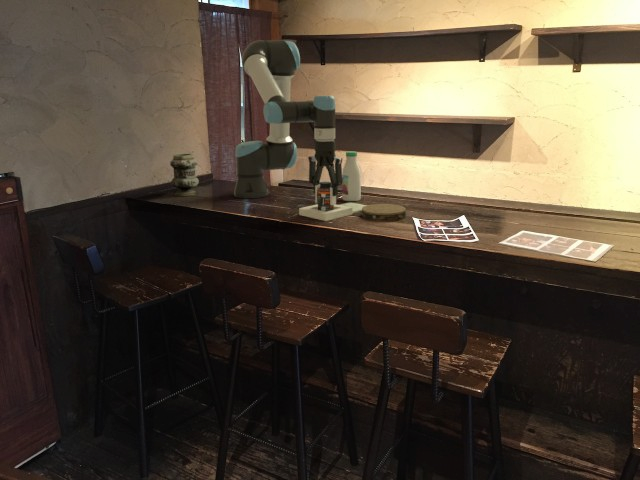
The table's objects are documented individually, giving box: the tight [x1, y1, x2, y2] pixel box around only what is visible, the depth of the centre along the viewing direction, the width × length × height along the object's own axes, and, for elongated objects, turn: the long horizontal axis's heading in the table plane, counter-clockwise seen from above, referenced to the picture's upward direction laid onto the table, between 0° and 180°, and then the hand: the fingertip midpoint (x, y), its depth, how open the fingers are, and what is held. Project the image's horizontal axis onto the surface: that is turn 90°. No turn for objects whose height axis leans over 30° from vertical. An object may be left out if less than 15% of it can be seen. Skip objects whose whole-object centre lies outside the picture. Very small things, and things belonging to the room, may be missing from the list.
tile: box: [340, 201, 367, 214], centre depth 206 cm, size 12×12×1 cm
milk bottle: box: [341, 151, 362, 202], centre depth 219 cm, size 8×8×20 cm
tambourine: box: [361, 203, 407, 222], centre depth 193 cm, size 16×16×3 cm
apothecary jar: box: [169, 152, 200, 197], centre depth 238 cm, size 12×12×18 cm
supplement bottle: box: [317, 180, 334, 212], centre depth 195 cm, size 6×6×11 cm
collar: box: [298, 203, 354, 222], centre depth 196 cm, size 14×14×2 cm
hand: (325, 203), depth 196 cm, fingers closed on supplement bottle, 6 cm apart
